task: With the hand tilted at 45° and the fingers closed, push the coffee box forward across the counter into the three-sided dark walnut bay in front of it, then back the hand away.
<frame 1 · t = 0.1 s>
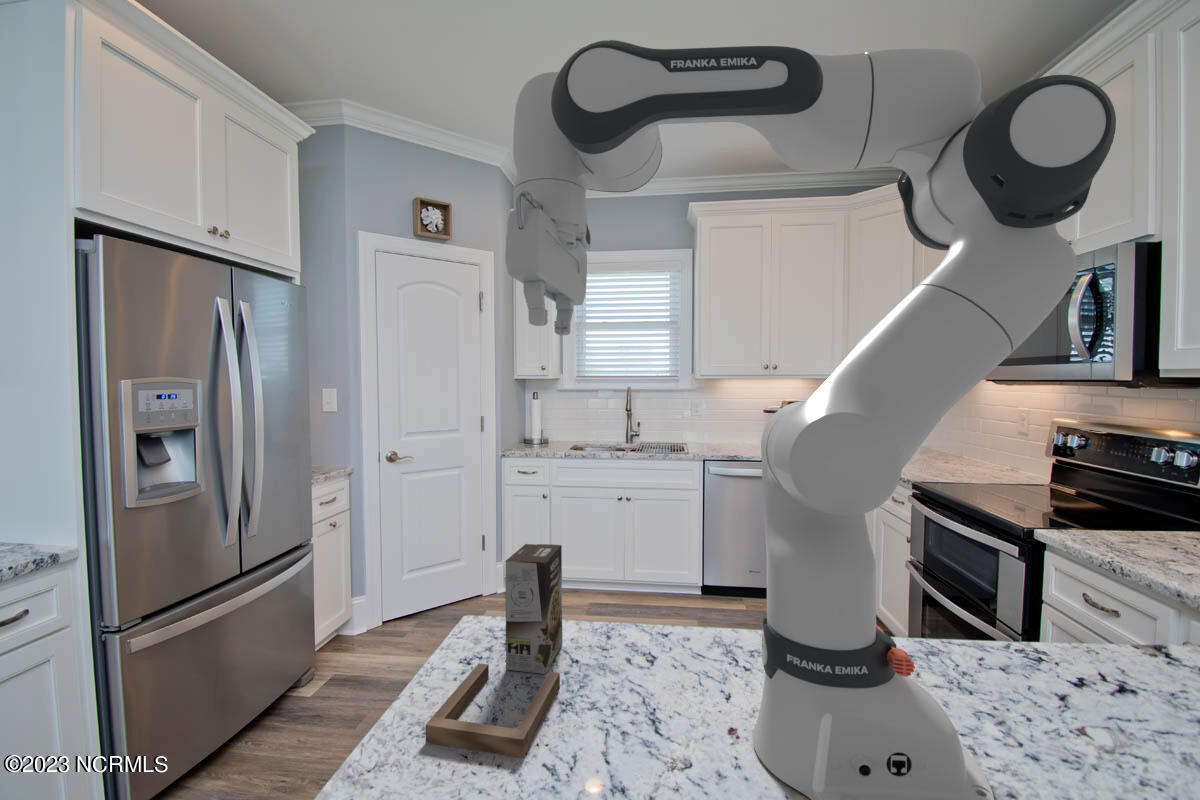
hand: (551, 330, 62), 48 cm above the countertop, tool pointing down, fingers open, 8 cm apart
coffee box: (535, 658, 76), on the countertop
walnut bay: (500, 708, 64), on the countertop
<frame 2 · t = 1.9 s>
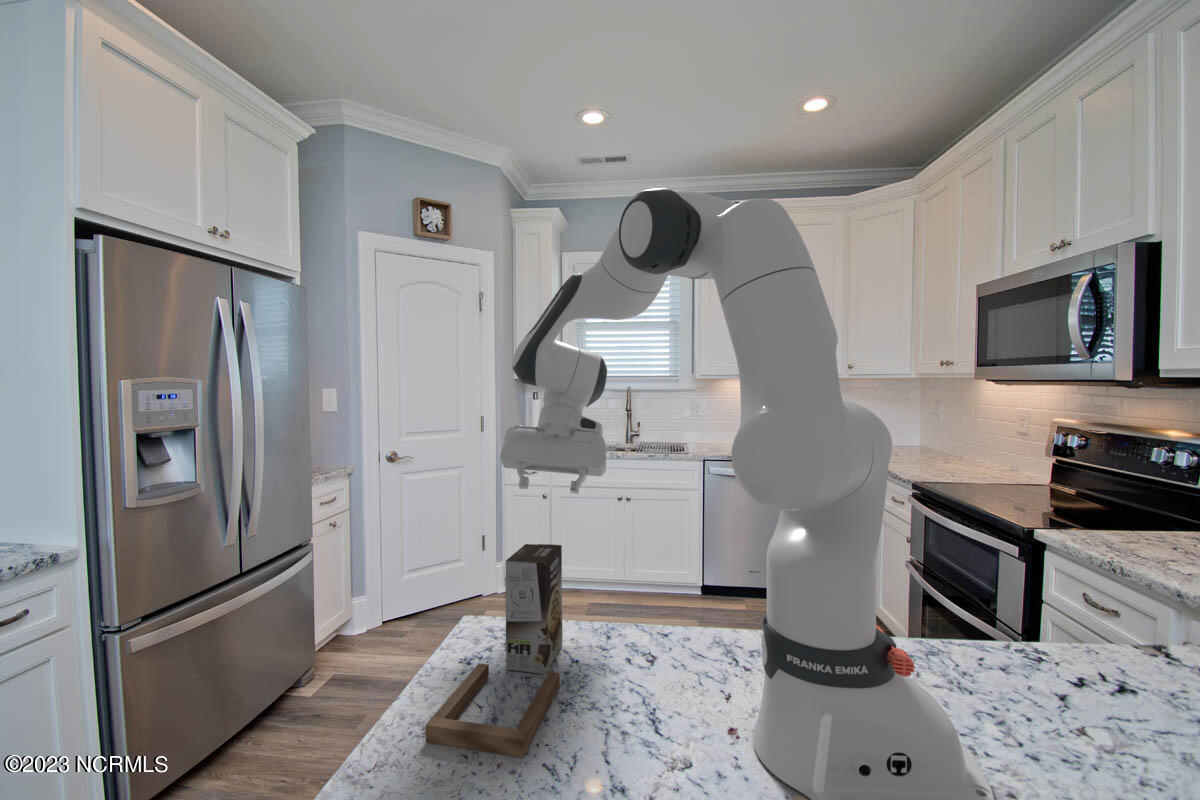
hand: (548, 489, 91), 23 cm above the countertop, tool tilted 40°, fingers open, 8 cm apart
nothing on the countertop moved.
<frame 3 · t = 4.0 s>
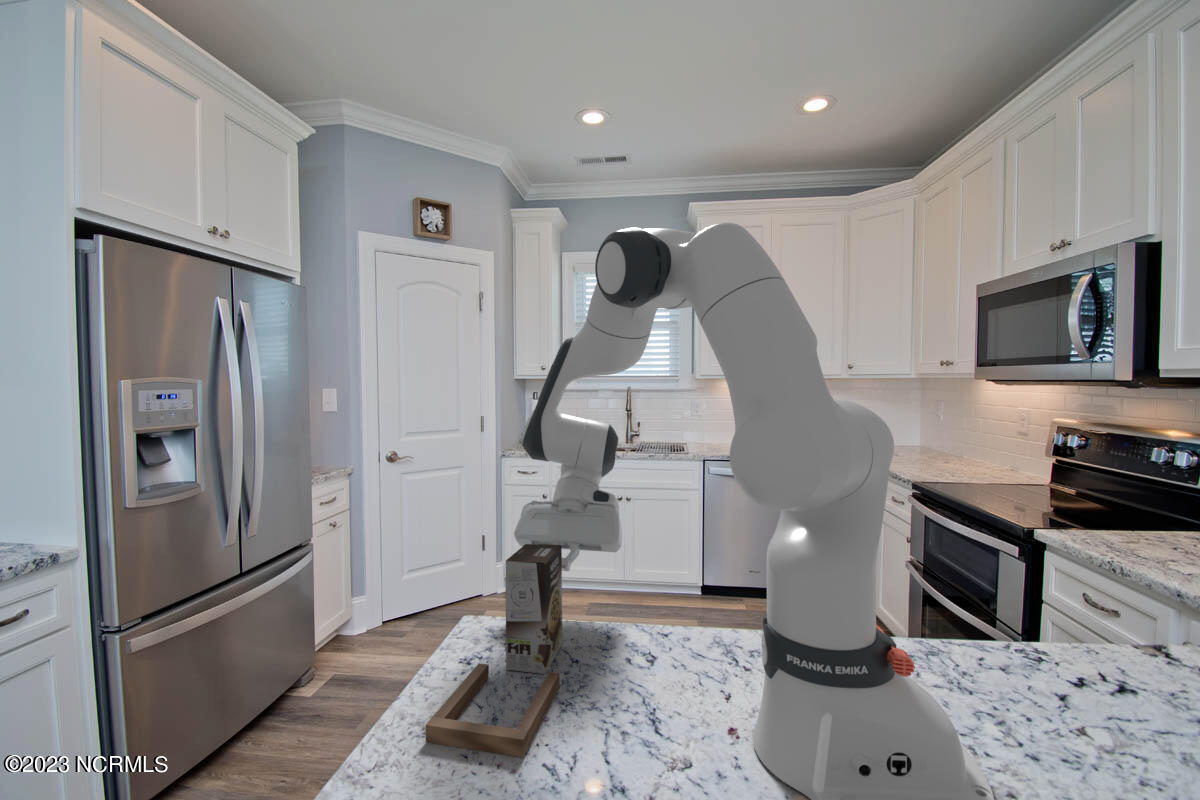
hand: (560, 569, 89), 9 cm above the countertop, tool tilted 45°, fingers closed
nothing on the countertop moved.
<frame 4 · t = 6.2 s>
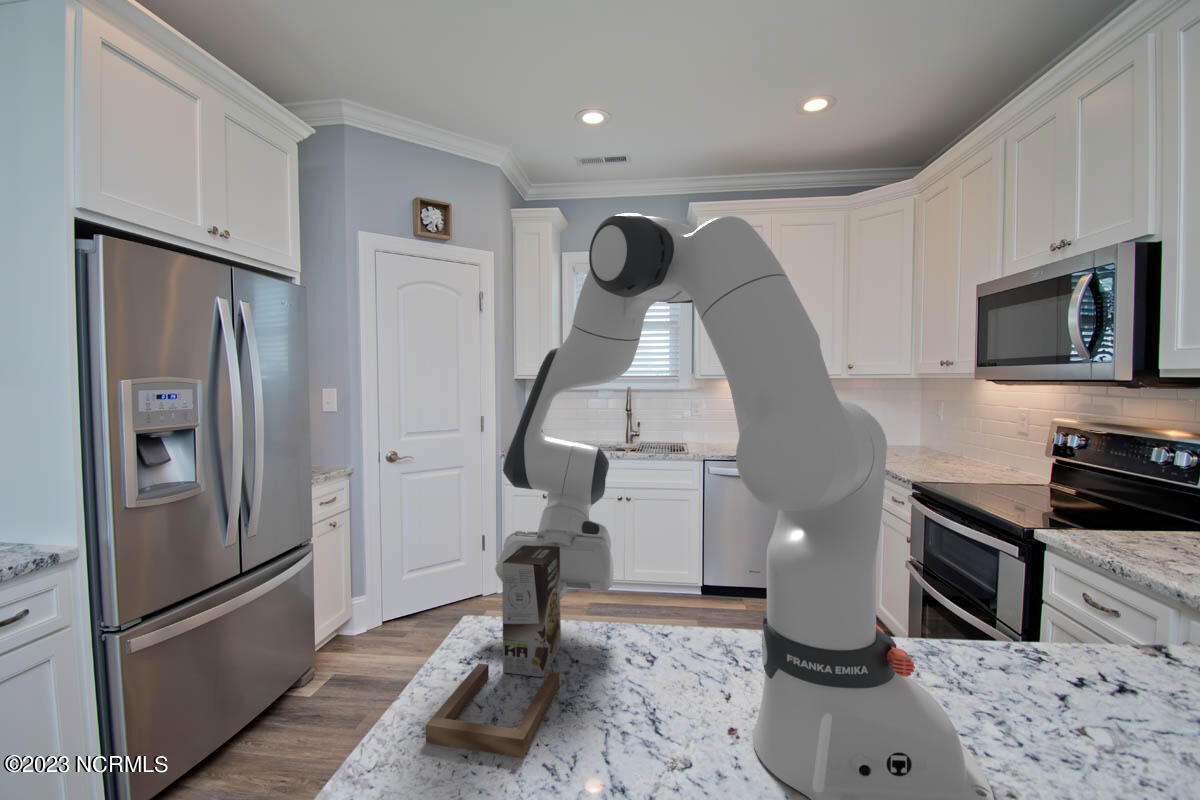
hand: (545, 610, 80), 5 cm above the countertop, tool tilted 45°, fingers closed, pressing on coffee box
coffee box: (533, 660, 75), on the countertop, touching gripper
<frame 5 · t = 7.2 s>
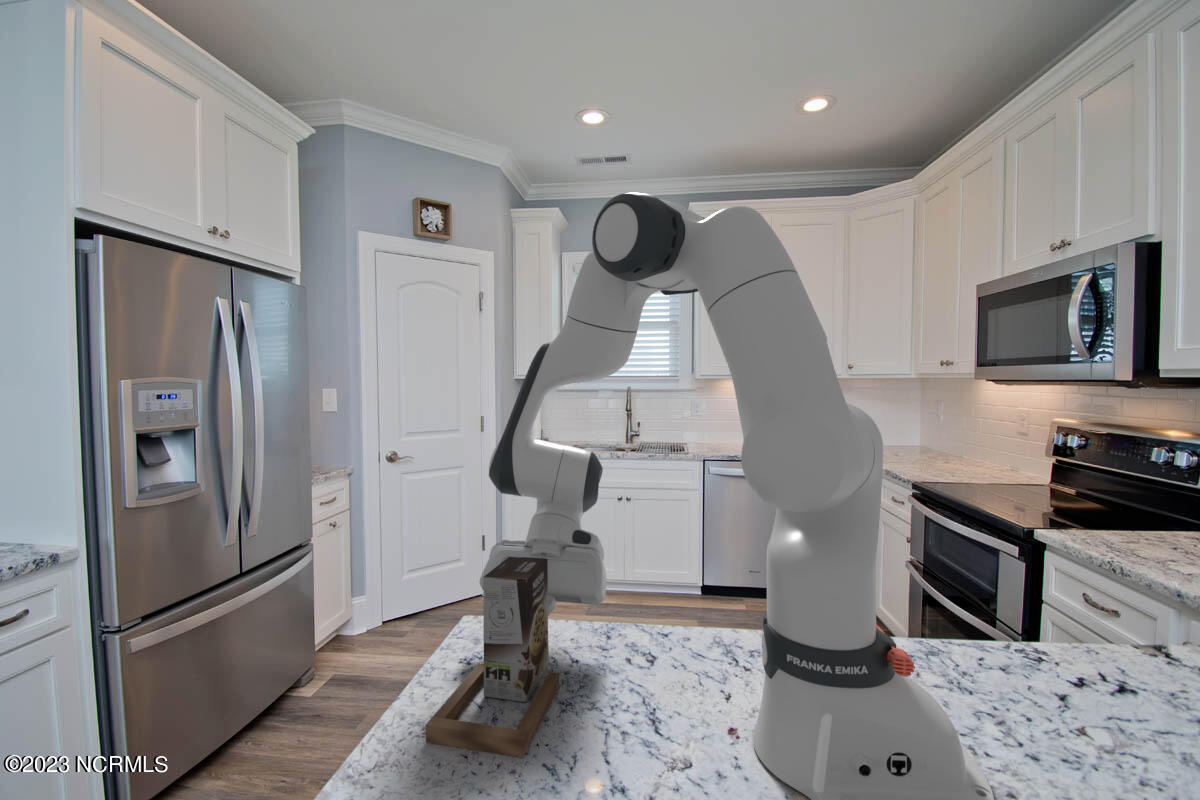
hand: (532, 627, 75), 5 cm above the countertop, tool tilted 45°, fingers closed, pressing on coffee box
coffee box: (518, 682, 70), on the countertop, touching gripper
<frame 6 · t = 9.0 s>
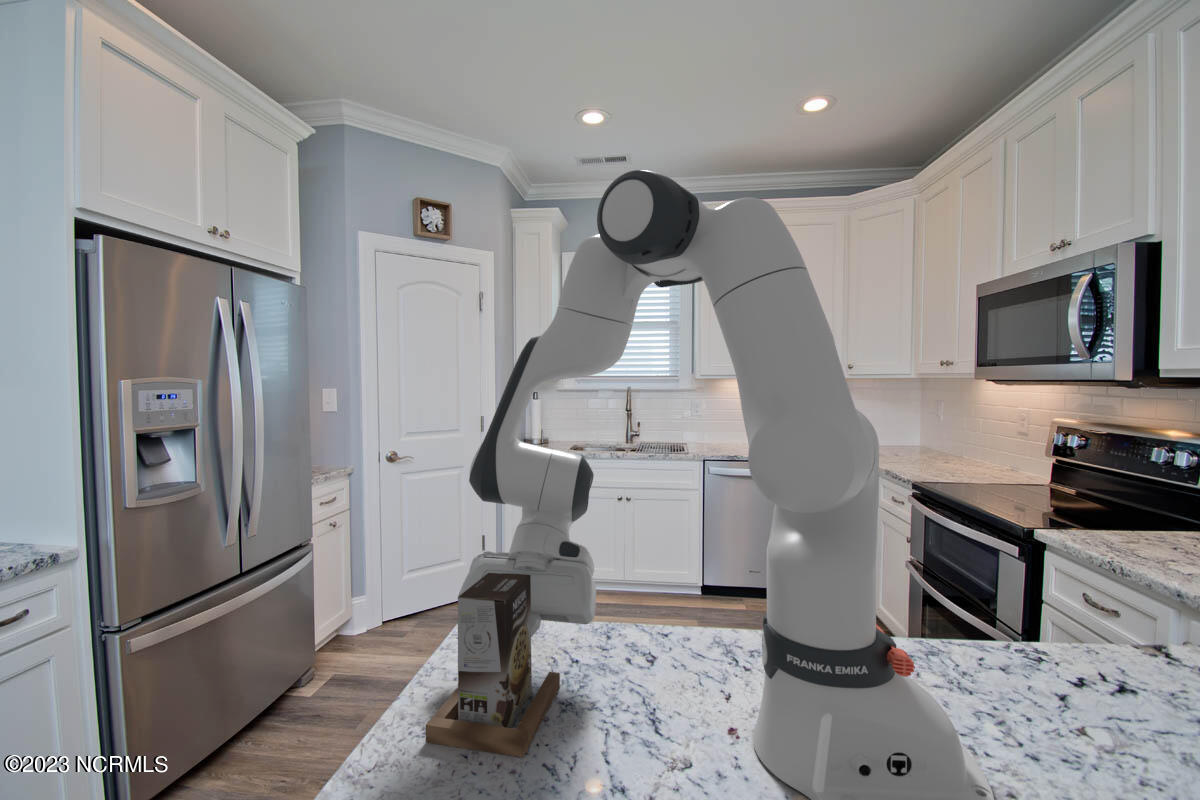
hand: (514, 649, 68), 5 cm above the countertop, tool tilted 45°, fingers closed, pressing on coffee box
coffee box: (497, 712, 63), resting in walnut bay, touching gripper
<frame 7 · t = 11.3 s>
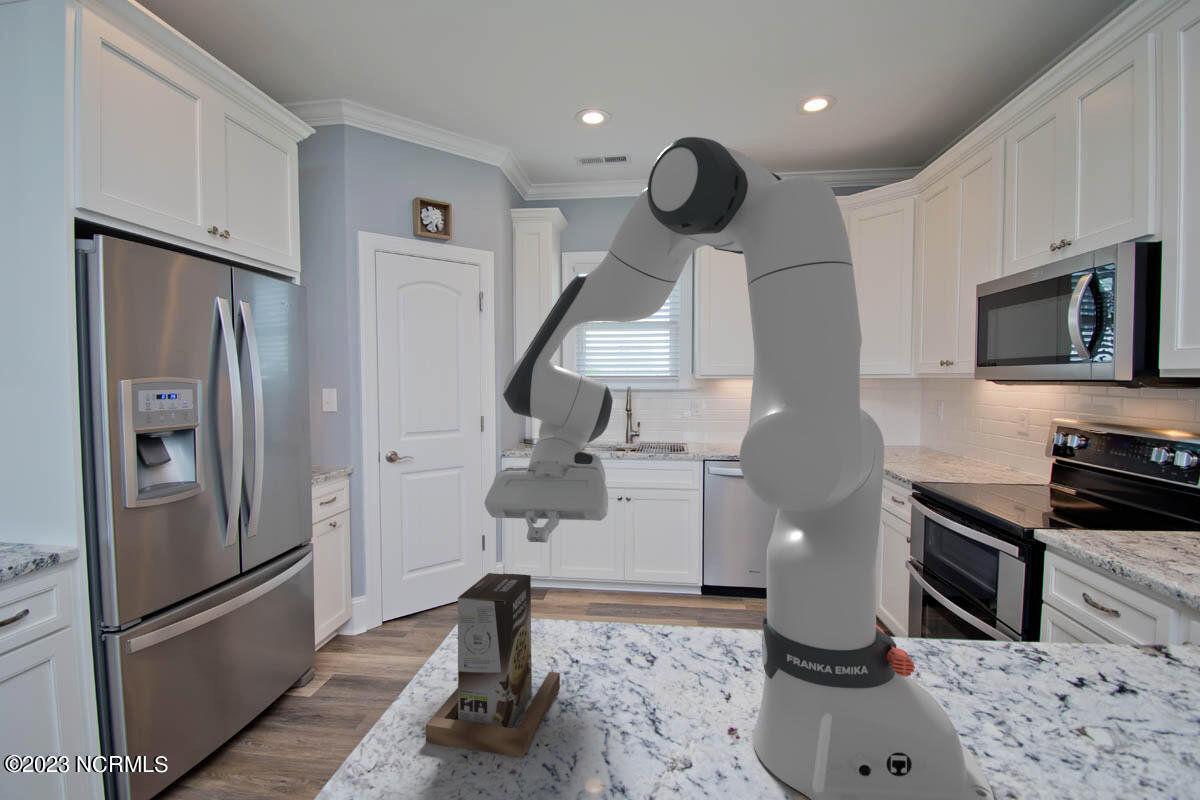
hand: (536, 540, 77), 18 cm above the countertop, tool tilted 45°, fingers closed
coffee box: (497, 713, 63), resting in walnut bay
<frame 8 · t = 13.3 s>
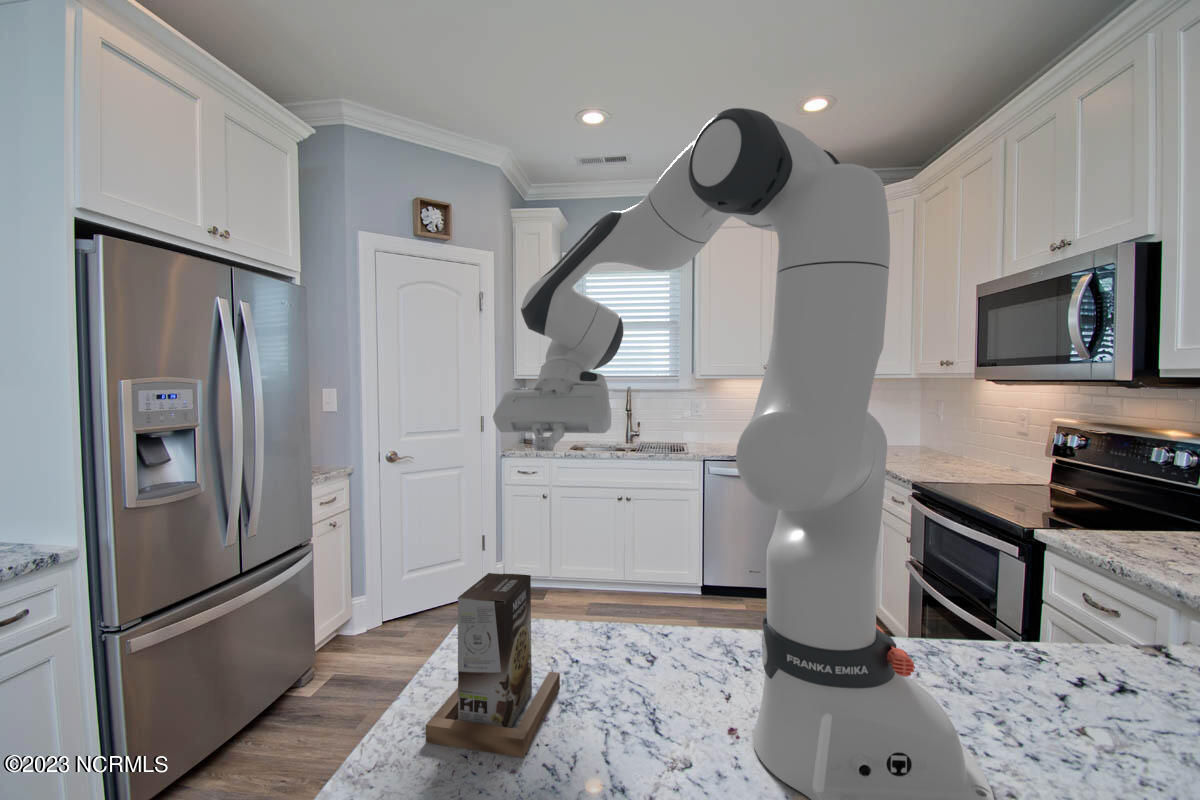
hand: (542, 448, 80), 31 cm above the countertop, tool tilted 45°, fingers closed
nothing on the countertop moved.
at the end: coffee box inside the target area on the walnut bay (0.8 cm from its centre), point 0.0 cm above the walnut bay's base; coffee box tilted 0°; coffee box moved 13.5 cm from its start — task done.
